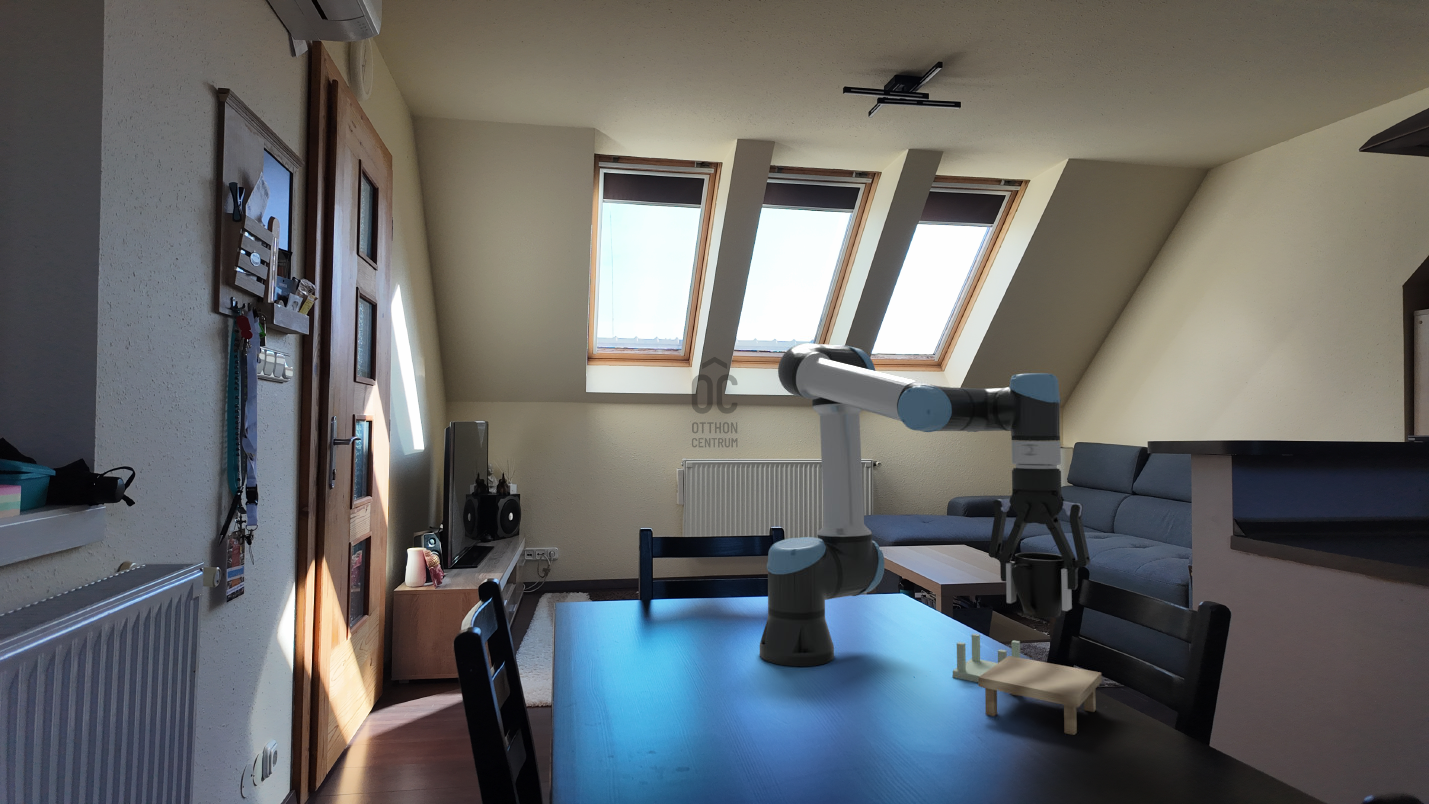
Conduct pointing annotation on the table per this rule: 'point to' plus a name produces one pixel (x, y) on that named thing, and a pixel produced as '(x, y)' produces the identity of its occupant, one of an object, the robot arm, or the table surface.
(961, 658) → the upturned footstool
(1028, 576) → the mug
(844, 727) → the table surface
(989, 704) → the oak stool
